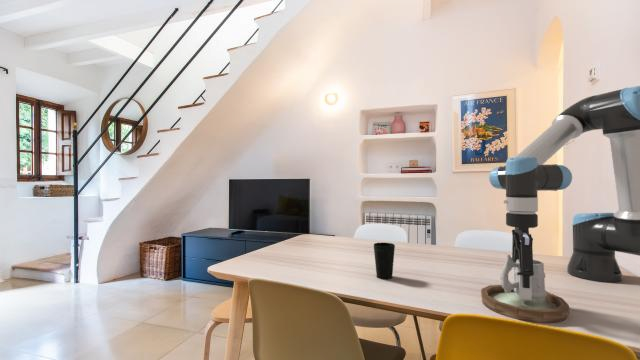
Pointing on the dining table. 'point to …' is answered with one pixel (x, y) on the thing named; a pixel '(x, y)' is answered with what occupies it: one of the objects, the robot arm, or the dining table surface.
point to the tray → (524, 305)
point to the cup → (384, 260)
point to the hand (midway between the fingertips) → (522, 293)
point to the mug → (537, 279)
